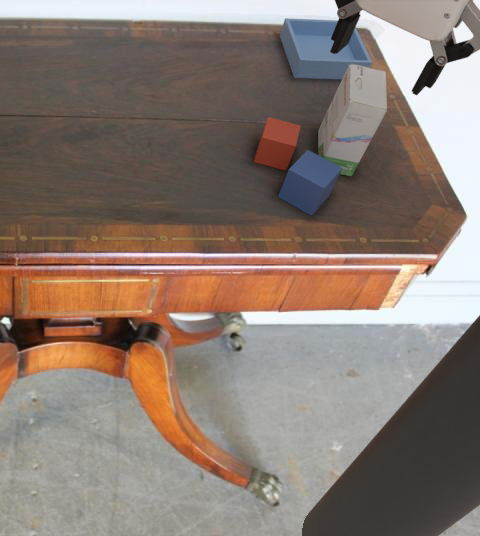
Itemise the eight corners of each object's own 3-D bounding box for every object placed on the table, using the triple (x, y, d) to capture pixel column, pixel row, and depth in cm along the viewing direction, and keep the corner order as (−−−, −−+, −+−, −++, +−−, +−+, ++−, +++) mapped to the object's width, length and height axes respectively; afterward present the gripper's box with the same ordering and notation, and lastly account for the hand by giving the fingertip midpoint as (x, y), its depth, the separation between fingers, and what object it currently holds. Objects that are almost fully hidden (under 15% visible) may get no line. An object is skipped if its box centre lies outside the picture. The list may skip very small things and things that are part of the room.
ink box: (317, 131, 103) (346, 60, 93) (354, 138, 102) (386, 68, 93) (316, 170, 97) (346, 100, 88) (354, 178, 97) (389, 108, 88)
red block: (291, 150, 100) (301, 125, 96) (286, 171, 97) (296, 146, 93) (259, 141, 100) (268, 116, 97) (253, 162, 98) (262, 136, 94)
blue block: (329, 195, 94) (342, 167, 90) (311, 216, 92) (324, 188, 88) (296, 177, 96) (307, 149, 92) (277, 197, 94) (288, 169, 90)
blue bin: (345, 38, 118) (353, 20, 115) (364, 80, 111) (372, 62, 108) (279, 36, 117) (285, 18, 115) (293, 78, 110) (300, 59, 108)
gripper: (564, -68, 63) (466, 89, 76) (385, -137, 69) (324, 20, 83) (536, -39, 59) (438, 122, 73) (350, -114, 65) (291, 47, 79)
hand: (378, 68), depth 78 cm, fingers open, 9 cm apart
